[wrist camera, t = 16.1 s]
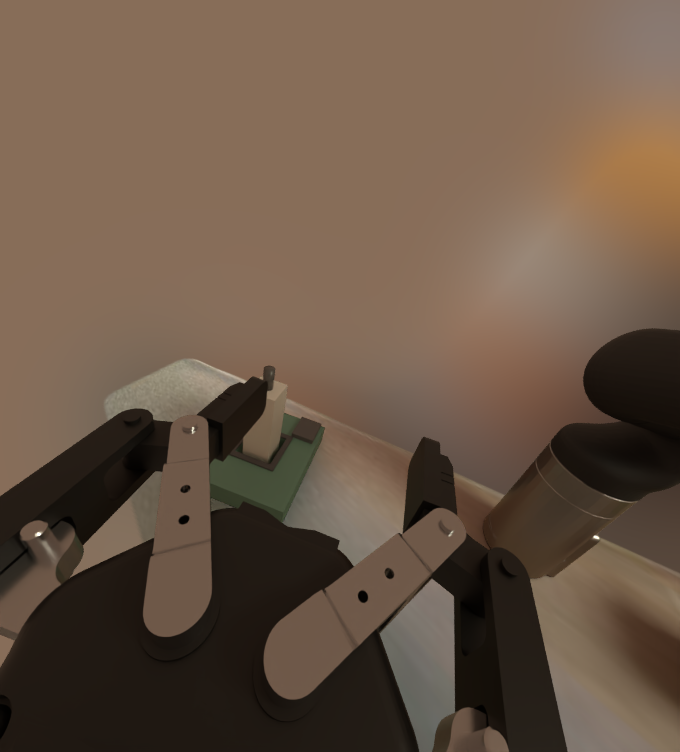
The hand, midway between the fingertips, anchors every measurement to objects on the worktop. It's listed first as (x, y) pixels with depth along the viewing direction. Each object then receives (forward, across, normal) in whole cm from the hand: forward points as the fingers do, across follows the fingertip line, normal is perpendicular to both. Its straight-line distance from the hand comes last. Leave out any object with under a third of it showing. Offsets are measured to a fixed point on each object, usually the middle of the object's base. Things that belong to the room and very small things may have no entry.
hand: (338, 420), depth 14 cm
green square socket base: (+18, +12, +28) cm, 35 cm away
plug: (+18, +12, +28) cm, 35 cm away
